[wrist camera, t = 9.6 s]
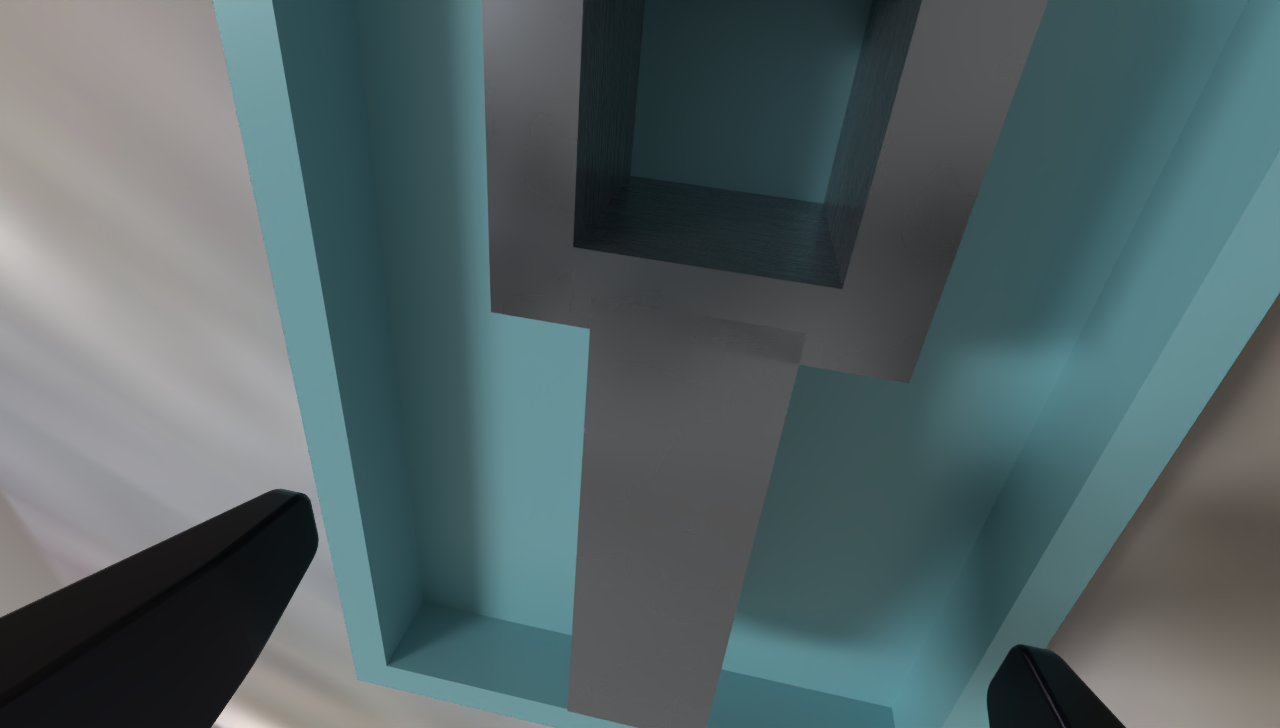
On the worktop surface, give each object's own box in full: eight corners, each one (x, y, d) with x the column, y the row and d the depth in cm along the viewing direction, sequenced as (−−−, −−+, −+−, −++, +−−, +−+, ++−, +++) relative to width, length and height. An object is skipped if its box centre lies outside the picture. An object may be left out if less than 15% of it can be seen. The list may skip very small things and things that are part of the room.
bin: (1522, -435, 8) (1903, -654, 5) (912, 709, 19) (933, 819, 17) (266, -479, 9) (72, -658, 7) (408, 596, 21) (357, 679, 18)
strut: (773, 607, 17) (772, 759, 14) (554, 560, 18) (502, 695, 14) (988, -117, 9) (1113, -180, 6) (579, -152, 10) (475, -228, 6)
